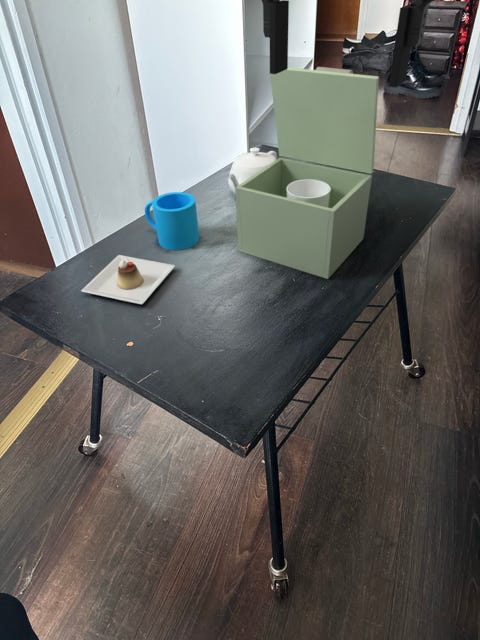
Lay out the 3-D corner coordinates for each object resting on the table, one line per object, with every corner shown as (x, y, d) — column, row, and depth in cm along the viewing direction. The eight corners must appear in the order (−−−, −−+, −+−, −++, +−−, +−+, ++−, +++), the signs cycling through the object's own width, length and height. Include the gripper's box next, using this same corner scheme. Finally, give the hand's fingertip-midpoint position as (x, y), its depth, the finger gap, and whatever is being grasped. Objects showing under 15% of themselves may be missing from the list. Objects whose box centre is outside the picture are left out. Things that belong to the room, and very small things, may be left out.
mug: (207, 235, 95) (203, 197, 90) (182, 254, 90) (177, 215, 85) (161, 221, 101) (155, 185, 95) (135, 239, 95) (127, 201, 90)
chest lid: (377, 78, 71) (391, 61, 73) (269, 67, 79) (286, 52, 82) (371, 174, 83) (384, 156, 86) (279, 155, 91) (293, 140, 94)
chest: (328, 279, 82) (334, 211, 74) (238, 251, 90) (235, 187, 82) (363, 239, 92) (372, 175, 83) (279, 217, 100) (280, 157, 92)
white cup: (333, 233, 92) (338, 184, 86) (315, 251, 87) (319, 201, 81) (297, 223, 96) (299, 176, 89) (278, 241, 91) (278, 192, 84)
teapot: (256, 217, 100) (254, 171, 94) (207, 205, 106) (203, 160, 99) (298, 182, 113) (299, 138, 106) (253, 172, 118) (252, 131, 112)
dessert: (176, 270, 86) (172, 247, 83) (143, 309, 78) (138, 285, 74) (119, 259, 90) (114, 237, 87) (82, 296, 81) (74, 273, 78)
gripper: (200, -203, 40) (218, 74, 54) (526, -271, 29) (445, 100, 42) (248, -192, 45) (253, 60, 58) (544, -247, 34) (466, 80, 47)
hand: (334, 77), depth 50 cm, fingers open, 13 cm apart
